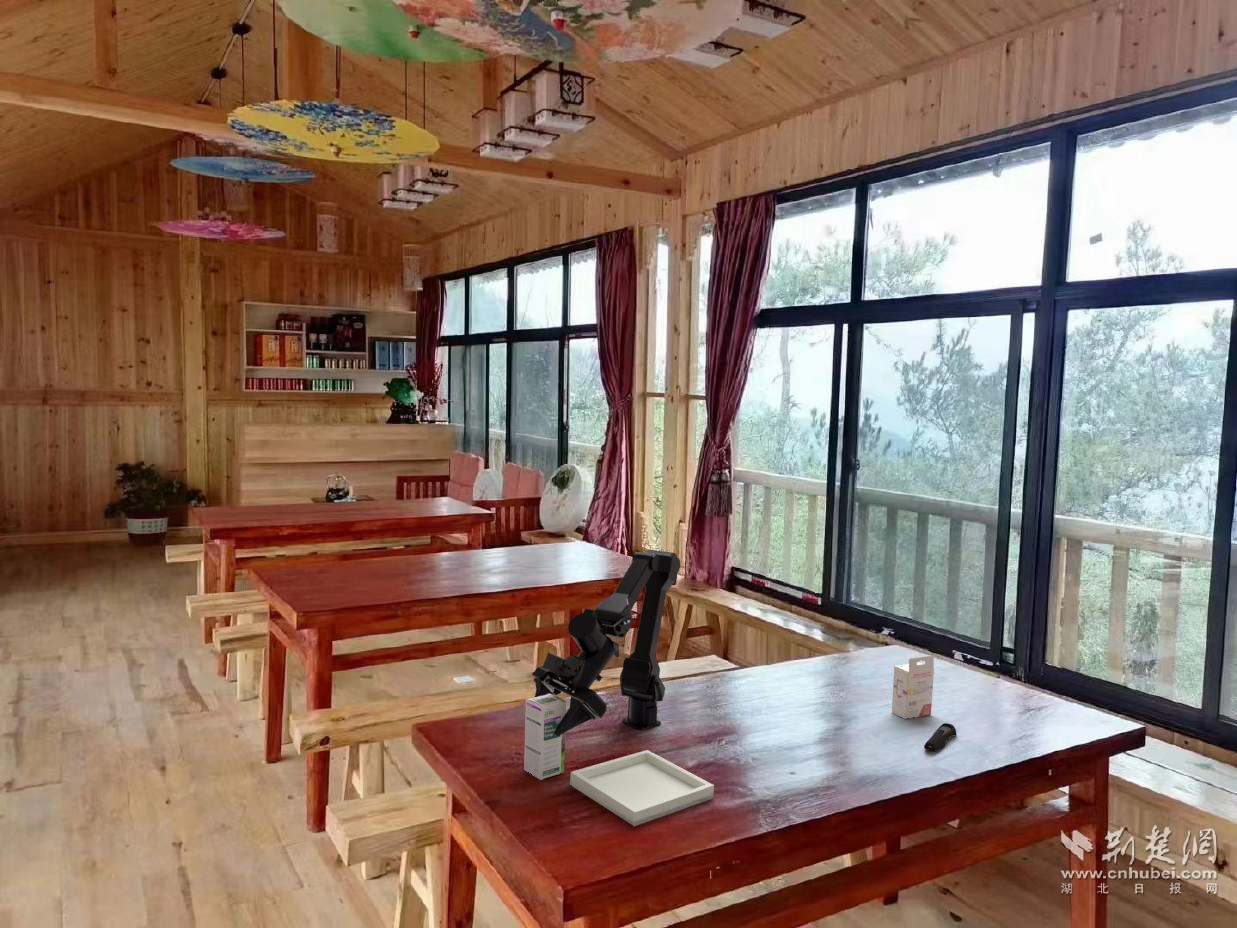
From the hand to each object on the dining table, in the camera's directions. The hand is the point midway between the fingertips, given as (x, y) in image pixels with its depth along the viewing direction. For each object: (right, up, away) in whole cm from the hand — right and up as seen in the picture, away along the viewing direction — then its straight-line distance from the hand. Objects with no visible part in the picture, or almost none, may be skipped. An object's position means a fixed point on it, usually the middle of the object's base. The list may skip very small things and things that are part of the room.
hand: (542, 726), depth 169 cm
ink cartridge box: (+85, -10, +43) cm, 96 cm away
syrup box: (0, -9, +1) cm, 9 cm away
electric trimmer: (+86, -12, +25) cm, 91 cm away
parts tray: (+19, -10, -5) cm, 22 cm away
